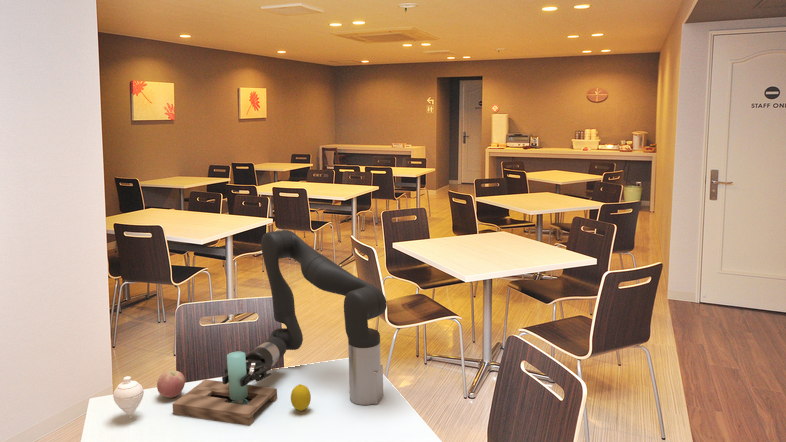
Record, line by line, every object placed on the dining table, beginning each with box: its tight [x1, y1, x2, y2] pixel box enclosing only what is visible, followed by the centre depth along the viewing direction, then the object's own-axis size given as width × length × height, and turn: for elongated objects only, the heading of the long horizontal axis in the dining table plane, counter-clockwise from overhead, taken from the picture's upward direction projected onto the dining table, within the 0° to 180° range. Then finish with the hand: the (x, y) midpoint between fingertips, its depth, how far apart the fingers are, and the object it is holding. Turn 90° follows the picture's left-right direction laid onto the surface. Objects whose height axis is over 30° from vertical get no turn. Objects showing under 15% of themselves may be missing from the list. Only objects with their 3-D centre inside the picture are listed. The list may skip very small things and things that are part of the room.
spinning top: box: [112, 375, 145, 419], centre depth 164 cm, size 8×8×12 cm
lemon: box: [290, 383, 312, 412], centre depth 167 cm, size 6×6×8 cm
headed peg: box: [226, 350, 249, 405], centre depth 168 cm, size 5×5×16 cm
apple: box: [156, 369, 186, 399], centre depth 176 cm, size 8×8×8 cm
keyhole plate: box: [172, 379, 278, 426], centre depth 171 cm, size 24×16×3 cm, turn 74°
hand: (232, 382), depth 166 cm, fingers closed on headed peg, 5 cm apart
